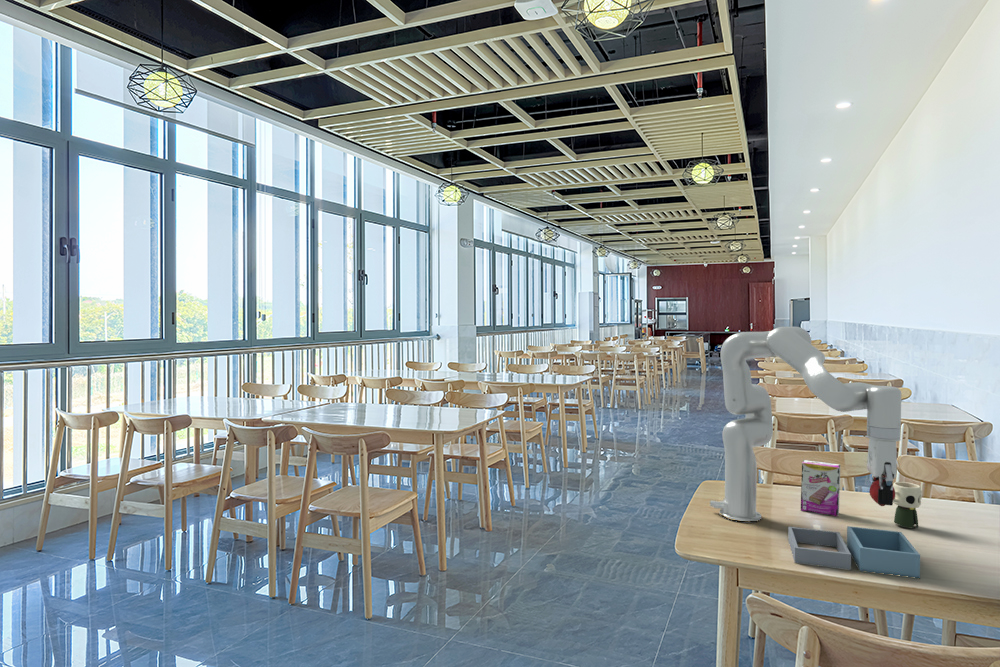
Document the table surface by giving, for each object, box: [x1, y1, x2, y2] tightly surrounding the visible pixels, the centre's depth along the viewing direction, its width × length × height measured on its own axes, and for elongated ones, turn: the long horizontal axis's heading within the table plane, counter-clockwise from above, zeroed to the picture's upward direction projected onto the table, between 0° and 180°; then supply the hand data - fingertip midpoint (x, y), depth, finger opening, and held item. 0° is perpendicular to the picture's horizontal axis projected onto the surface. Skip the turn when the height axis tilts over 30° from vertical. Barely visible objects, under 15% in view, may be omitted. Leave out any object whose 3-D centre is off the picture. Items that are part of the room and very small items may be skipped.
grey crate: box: [787, 526, 852, 571], centre depth 165 cm, size 13×17×4 cm
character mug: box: [893, 481, 923, 529], centre depth 187 cm, size 11×7×13 cm, turn 103°
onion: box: [869, 476, 895, 507], centre depth 159 cm, size 6×6×8 cm
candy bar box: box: [800, 459, 841, 517], centre depth 200 cm, size 11×5×16 cm, turn 58°
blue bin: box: [846, 525, 921, 579], centre depth 160 cm, size 13×17×6 cm
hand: (882, 500), depth 160 cm, fingers closed on onion, 5 cm apart
